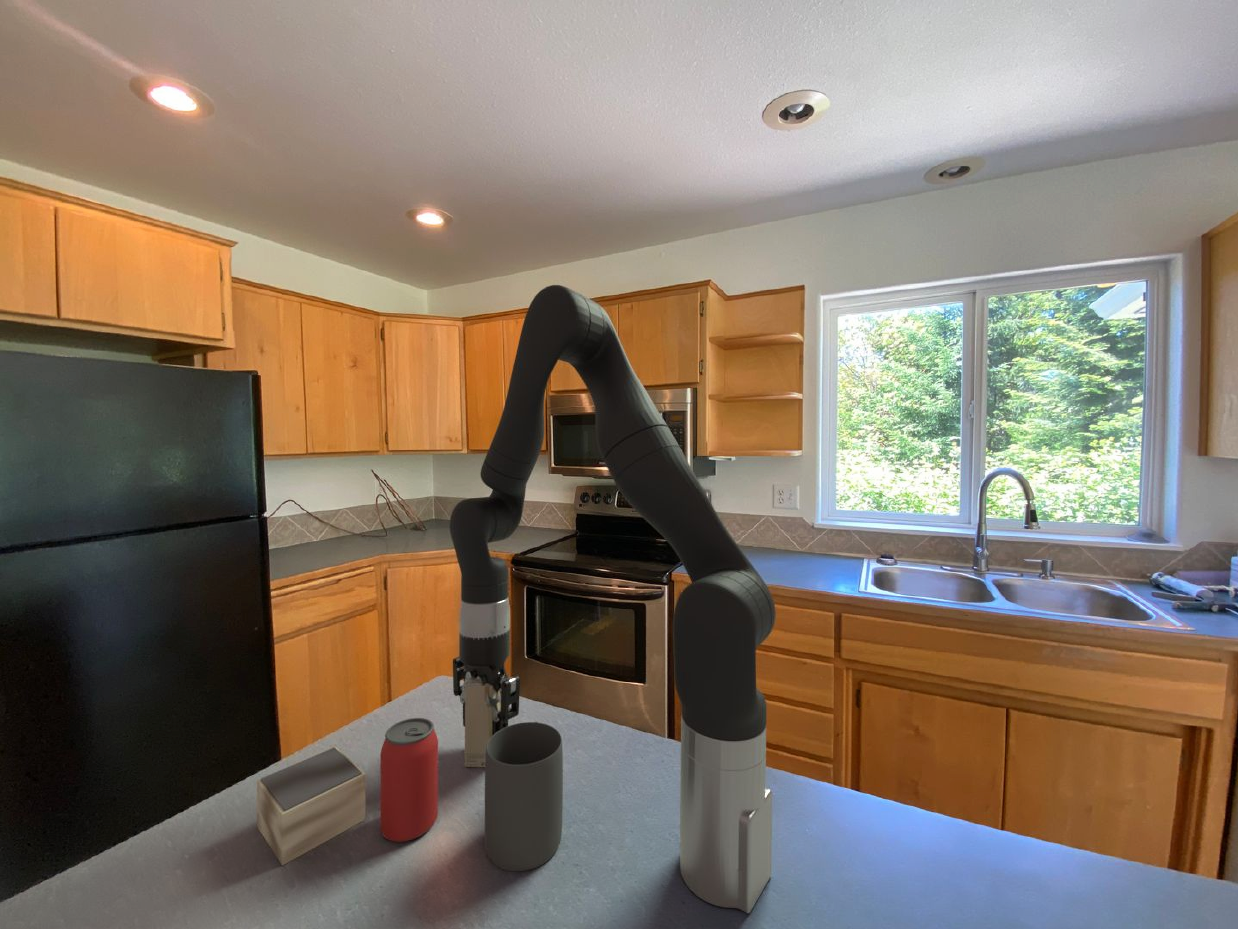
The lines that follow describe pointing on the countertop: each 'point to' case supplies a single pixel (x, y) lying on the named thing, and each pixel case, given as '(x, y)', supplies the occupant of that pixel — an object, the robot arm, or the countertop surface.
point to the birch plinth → (310, 803)
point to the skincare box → (477, 722)
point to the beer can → (408, 780)
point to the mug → (523, 795)
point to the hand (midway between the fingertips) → (484, 733)
